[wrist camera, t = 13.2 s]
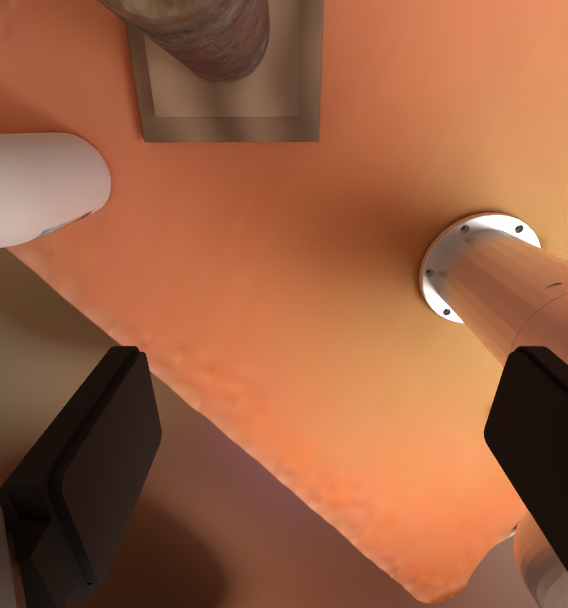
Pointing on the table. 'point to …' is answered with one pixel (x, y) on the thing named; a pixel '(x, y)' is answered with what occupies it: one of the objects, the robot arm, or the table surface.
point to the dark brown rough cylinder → (203, 32)
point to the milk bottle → (48, 184)
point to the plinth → (240, 126)
